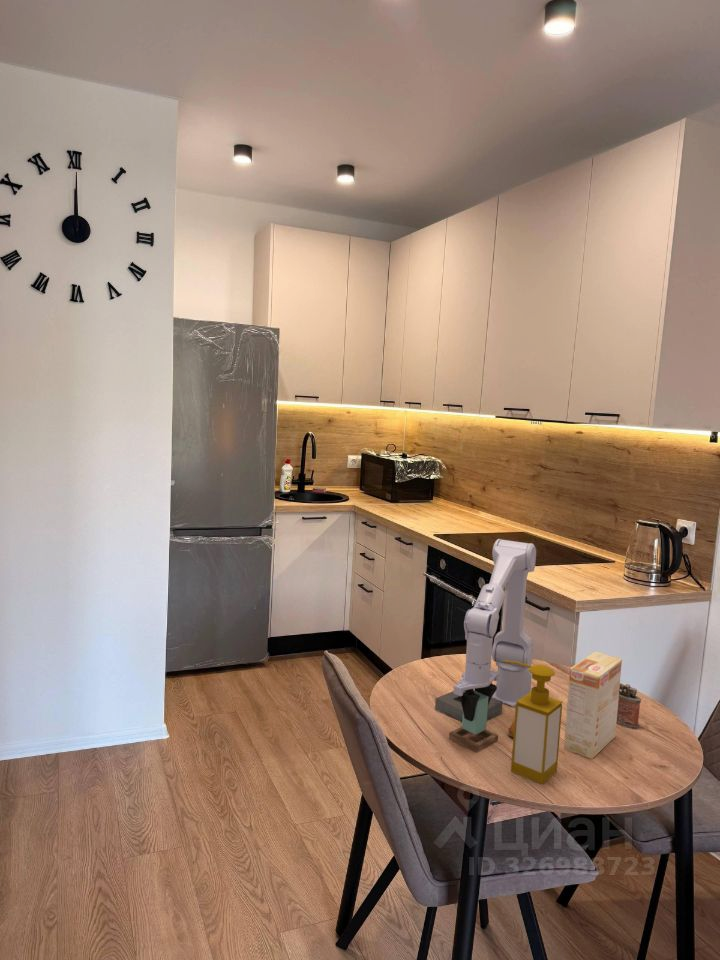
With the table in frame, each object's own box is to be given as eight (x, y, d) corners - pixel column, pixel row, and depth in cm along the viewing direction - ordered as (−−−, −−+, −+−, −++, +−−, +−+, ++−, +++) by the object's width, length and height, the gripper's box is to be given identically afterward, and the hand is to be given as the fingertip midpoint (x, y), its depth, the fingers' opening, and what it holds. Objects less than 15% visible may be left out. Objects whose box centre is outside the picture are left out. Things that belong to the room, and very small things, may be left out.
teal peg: (472, 722, 161) (474, 690, 160) (486, 729, 158) (488, 696, 157) (461, 728, 158) (463, 695, 157) (475, 734, 155) (477, 701, 154)
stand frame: (470, 728, 164) (470, 722, 164) (497, 741, 158) (498, 735, 158) (448, 738, 158) (449, 732, 158) (476, 752, 153) (476, 746, 152)
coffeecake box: (587, 726, 167) (594, 650, 165) (616, 737, 163) (623, 658, 161) (561, 748, 156) (568, 667, 154) (592, 760, 151) (599, 676, 149)
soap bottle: (503, 749, 154) (511, 649, 152) (556, 770, 146) (565, 665, 144) (488, 761, 149) (495, 658, 146) (542, 784, 141) (551, 675, 138)
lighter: (640, 726, 169) (644, 688, 168) (635, 730, 166) (639, 691, 165) (608, 715, 174) (612, 677, 173) (603, 719, 172) (606, 681, 171)
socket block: (464, 696, 181) (465, 686, 181) (501, 713, 173) (502, 702, 172) (435, 709, 173) (435, 698, 173) (472, 727, 164) (473, 715, 164)
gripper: (483, 648, 164) (479, 702, 165) (444, 662, 154) (441, 719, 156) (508, 657, 159) (504, 712, 160) (469, 672, 149) (465, 731, 150)
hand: (474, 716), depth 158 cm, fingers closed on teal peg, 4 cm apart
